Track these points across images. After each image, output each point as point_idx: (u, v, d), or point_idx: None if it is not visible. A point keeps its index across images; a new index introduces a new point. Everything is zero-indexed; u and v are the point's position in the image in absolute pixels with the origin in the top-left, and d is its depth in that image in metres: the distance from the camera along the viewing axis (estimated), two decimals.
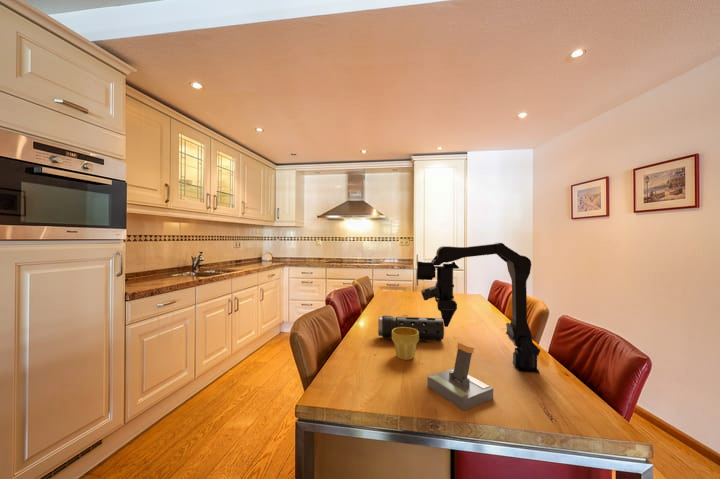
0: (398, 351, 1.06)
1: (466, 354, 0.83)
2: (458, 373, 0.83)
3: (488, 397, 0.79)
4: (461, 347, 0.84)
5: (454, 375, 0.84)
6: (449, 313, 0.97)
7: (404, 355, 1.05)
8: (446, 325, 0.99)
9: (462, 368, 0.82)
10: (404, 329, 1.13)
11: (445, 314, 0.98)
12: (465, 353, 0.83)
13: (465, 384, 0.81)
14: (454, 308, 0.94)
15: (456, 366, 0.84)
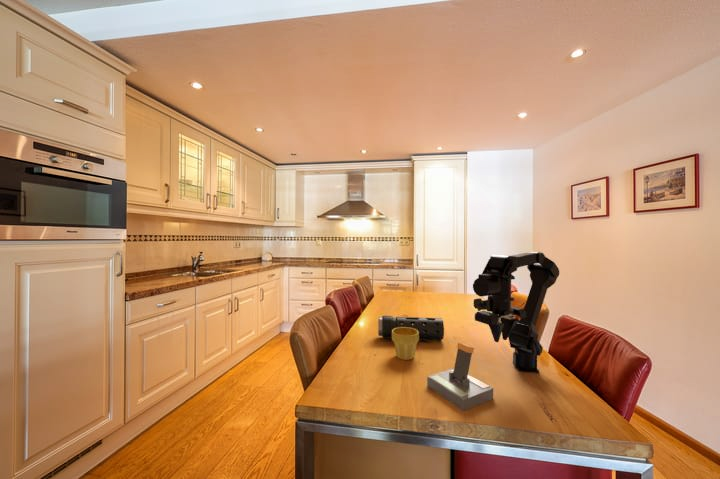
0: (398, 351, 1.06)
1: (466, 354, 0.83)
2: (458, 373, 0.83)
3: (488, 397, 0.79)
4: (461, 347, 0.84)
5: (454, 375, 0.84)
6: (496, 327, 0.90)
7: (404, 355, 1.05)
8: (496, 340, 0.91)
9: (462, 368, 0.82)
10: (404, 329, 1.13)
11: (493, 328, 0.91)
12: (465, 353, 0.83)
13: (465, 384, 0.81)
14: (487, 323, 0.86)
15: (456, 366, 0.84)
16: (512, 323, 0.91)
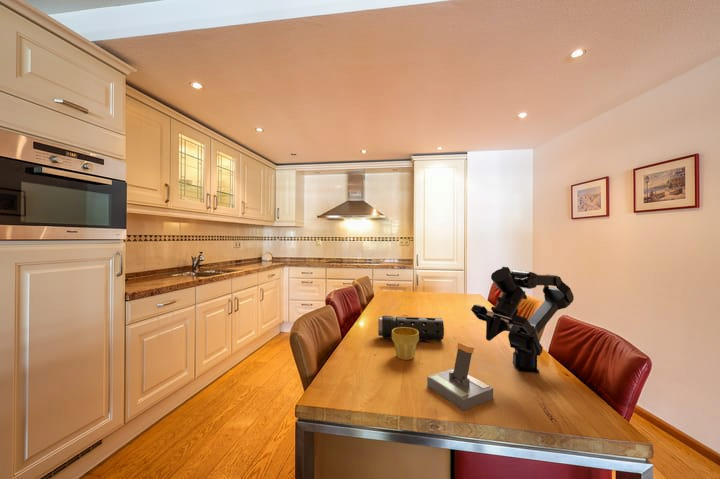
0: (398, 351, 1.06)
1: (466, 354, 0.83)
2: (458, 373, 0.83)
3: (488, 397, 0.79)
4: (461, 347, 0.84)
5: (454, 375, 0.84)
6: None
7: (404, 355, 1.05)
8: None
9: (462, 368, 0.82)
10: (404, 329, 1.13)
11: None
12: (465, 353, 0.83)
13: (465, 384, 0.81)
14: None
15: (456, 366, 0.84)
16: None
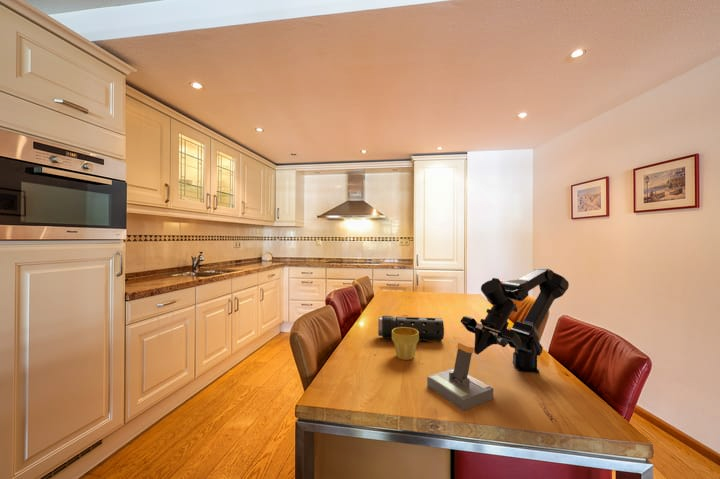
0: (398, 351, 1.06)
1: (466, 354, 0.83)
2: (458, 373, 0.83)
3: (488, 397, 0.79)
4: (461, 347, 0.84)
5: (454, 375, 0.84)
6: None
7: (404, 355, 1.05)
8: None
9: (462, 368, 0.82)
10: (404, 329, 1.13)
11: None
12: (465, 353, 0.83)
13: (465, 384, 0.81)
14: None
15: (456, 366, 0.84)
16: None
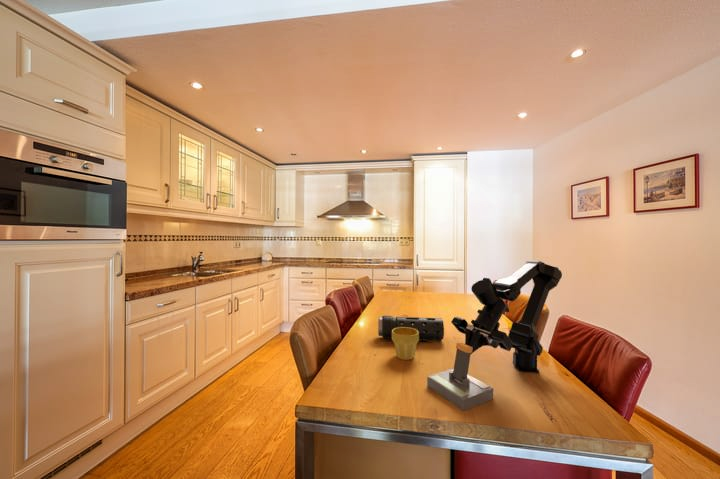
0: (398, 351, 1.06)
1: (465, 354, 0.82)
2: (458, 373, 0.83)
3: (488, 397, 0.79)
4: (460, 347, 0.84)
5: (454, 375, 0.84)
6: None
7: (404, 355, 1.05)
8: None
9: (462, 368, 0.82)
10: (404, 329, 1.13)
11: None
12: (463, 353, 0.83)
13: (465, 384, 0.81)
14: None
15: (455, 366, 0.84)
16: None
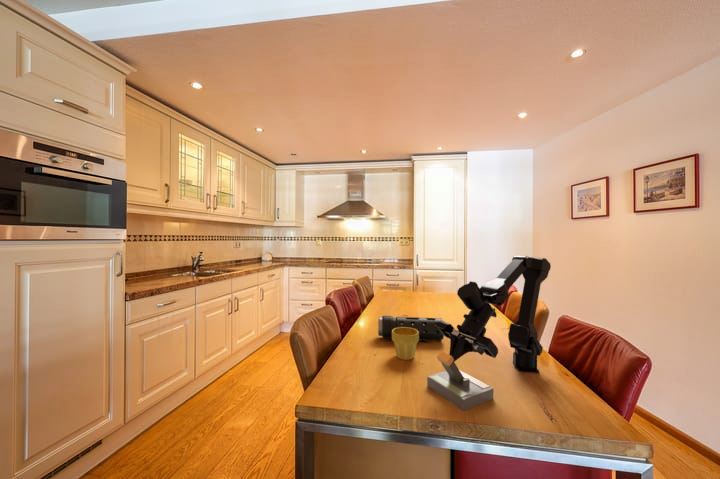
0: (398, 351, 1.06)
1: (449, 366, 0.79)
2: (454, 378, 0.82)
3: (488, 397, 0.79)
4: (441, 361, 0.81)
5: (452, 379, 0.84)
6: None
7: (404, 355, 1.05)
8: None
9: (454, 376, 0.81)
10: (404, 329, 1.13)
11: None
12: (447, 365, 0.80)
13: (465, 384, 0.81)
14: None
15: (449, 373, 0.83)
16: None
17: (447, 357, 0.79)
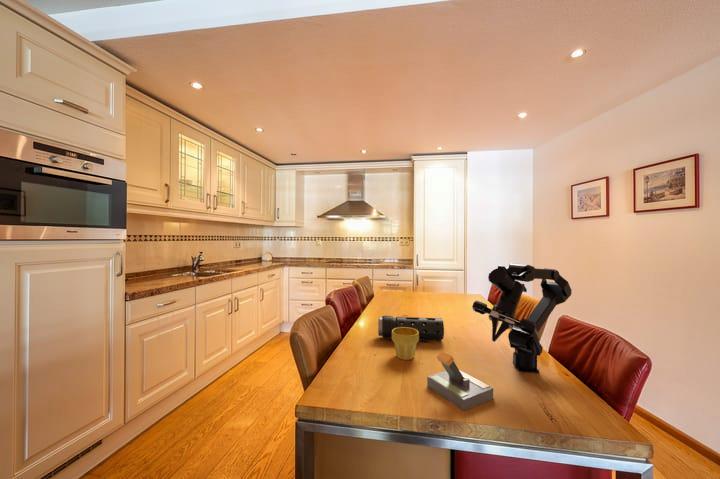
0: (398, 351, 1.06)
1: (449, 366, 0.79)
2: (454, 378, 0.82)
3: (488, 397, 0.79)
4: (441, 361, 0.81)
5: (452, 379, 0.84)
6: None
7: (404, 355, 1.05)
8: None
9: (454, 376, 0.81)
10: (404, 329, 1.13)
11: None
12: (447, 365, 0.80)
13: (465, 384, 0.81)
14: None
15: (449, 373, 0.83)
16: None
17: (447, 357, 0.79)
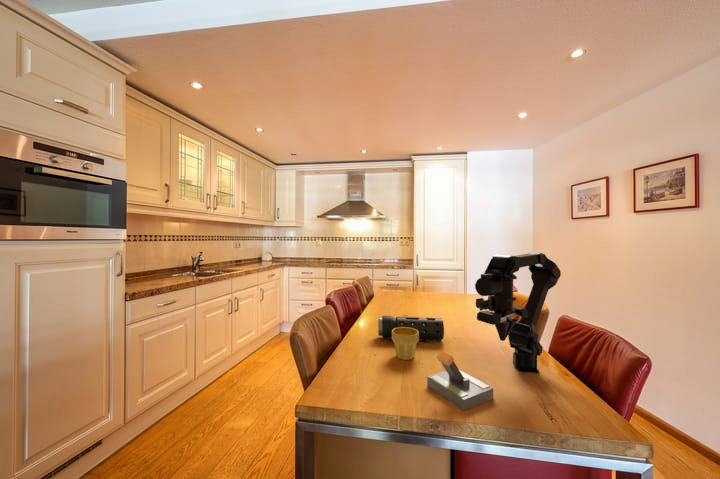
0: (398, 351, 1.06)
1: (449, 366, 0.79)
2: (454, 378, 0.82)
3: (488, 397, 0.79)
4: (441, 361, 0.81)
5: (452, 379, 0.84)
6: (502, 326, 0.91)
7: (404, 355, 1.05)
8: (501, 339, 0.93)
9: (454, 376, 0.81)
10: (404, 329, 1.13)
11: (499, 326, 0.92)
12: (447, 365, 0.80)
13: (465, 384, 0.81)
14: (490, 322, 0.86)
15: (449, 373, 0.83)
16: (510, 323, 0.91)
17: (447, 357, 0.79)
